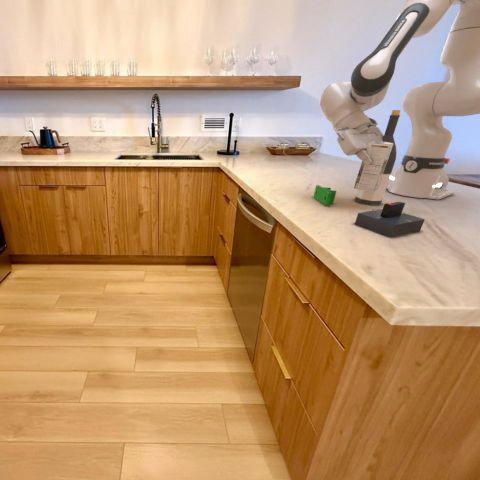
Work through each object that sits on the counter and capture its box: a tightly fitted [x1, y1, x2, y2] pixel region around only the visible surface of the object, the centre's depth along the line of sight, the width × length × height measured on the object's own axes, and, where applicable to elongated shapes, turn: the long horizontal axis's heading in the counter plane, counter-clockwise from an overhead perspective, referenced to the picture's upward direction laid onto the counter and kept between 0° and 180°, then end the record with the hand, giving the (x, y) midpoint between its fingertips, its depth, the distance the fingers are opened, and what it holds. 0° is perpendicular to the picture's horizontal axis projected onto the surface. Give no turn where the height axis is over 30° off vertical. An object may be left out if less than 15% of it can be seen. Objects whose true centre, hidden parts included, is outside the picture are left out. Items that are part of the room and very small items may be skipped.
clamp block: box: [354, 208, 426, 238], centre depth 79 cm, size 12×10×4 cm
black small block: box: [381, 201, 406, 218], centre depth 78 cm, size 6×2×4 cm, turn 111°
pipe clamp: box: [313, 184, 337, 207], centre depth 102 cm, size 11×4×5 cm, turn 173°
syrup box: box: [353, 141, 393, 191], centre depth 90 cm, size 6×6×14 cm
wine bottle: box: [354, 109, 401, 206], centre depth 96 cm, size 8×8×30 cm
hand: (376, 162), depth 89 cm, fingers closed on syrup box, 6 cm apart
